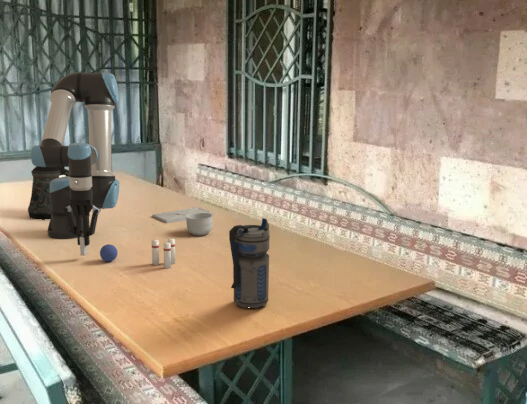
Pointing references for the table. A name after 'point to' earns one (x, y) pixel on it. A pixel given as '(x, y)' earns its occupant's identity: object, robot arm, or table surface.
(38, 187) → the beer stein
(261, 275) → the beverage bottle
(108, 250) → the ball
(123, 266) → the table surface
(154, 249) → the front pin
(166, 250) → the pin
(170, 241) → the pin
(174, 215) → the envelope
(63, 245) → the table surface
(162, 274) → the table surface
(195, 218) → the teacup
